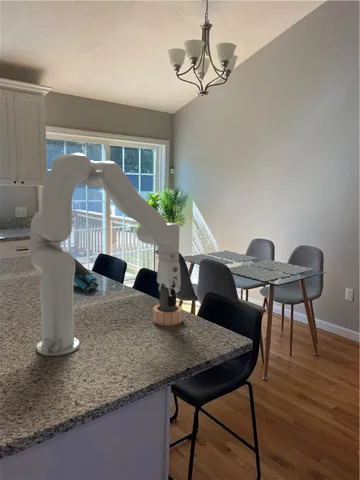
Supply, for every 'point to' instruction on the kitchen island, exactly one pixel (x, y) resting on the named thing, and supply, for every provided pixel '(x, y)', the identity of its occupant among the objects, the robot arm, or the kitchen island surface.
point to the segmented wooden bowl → (167, 316)
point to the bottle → (165, 300)
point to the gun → (84, 277)
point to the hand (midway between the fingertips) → (167, 303)
